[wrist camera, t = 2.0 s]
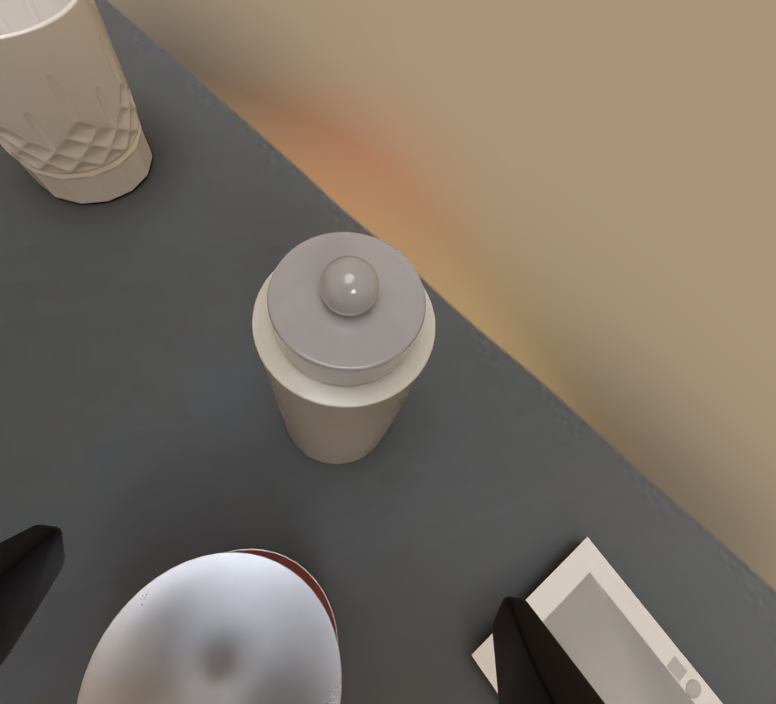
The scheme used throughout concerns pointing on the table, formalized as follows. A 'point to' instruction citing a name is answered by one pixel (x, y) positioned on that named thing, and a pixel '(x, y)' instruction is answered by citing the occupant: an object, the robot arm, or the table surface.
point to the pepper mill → (342, 341)
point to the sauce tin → (221, 637)
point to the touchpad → (608, 636)
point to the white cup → (68, 101)
